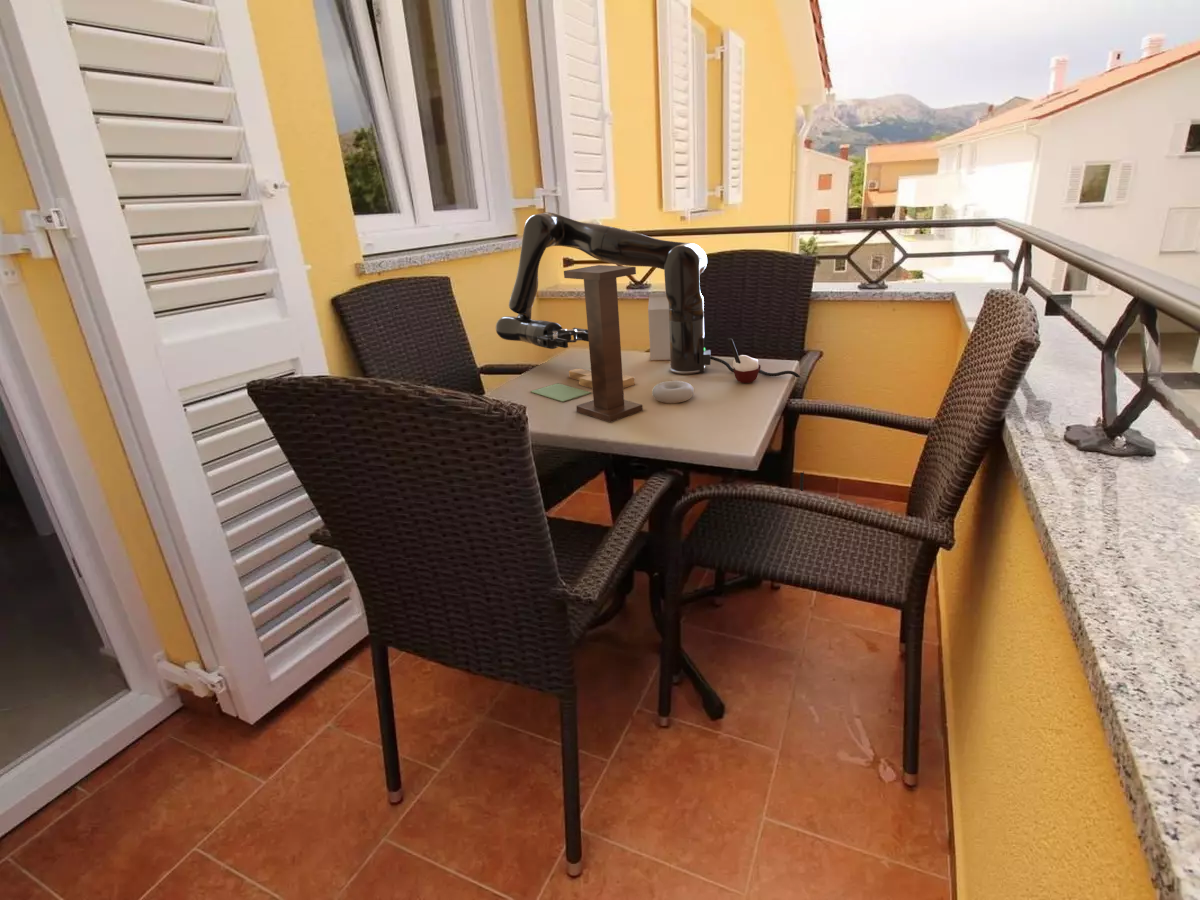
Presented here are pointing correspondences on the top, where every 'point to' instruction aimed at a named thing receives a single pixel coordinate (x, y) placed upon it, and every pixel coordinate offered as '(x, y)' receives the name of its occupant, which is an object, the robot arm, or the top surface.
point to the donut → (672, 391)
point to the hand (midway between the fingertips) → (579, 340)
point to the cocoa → (744, 366)
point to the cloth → (560, 392)
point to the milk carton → (659, 326)
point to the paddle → (586, 378)
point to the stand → (604, 342)
